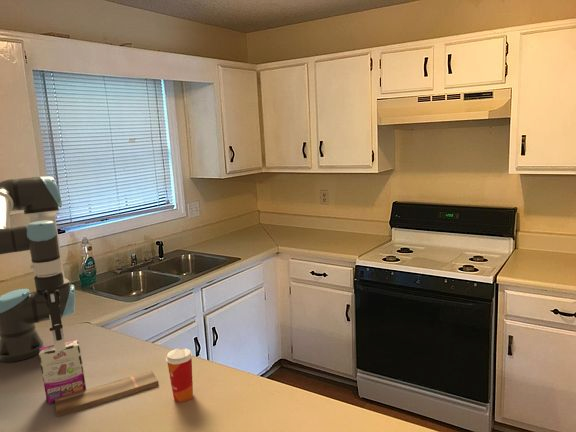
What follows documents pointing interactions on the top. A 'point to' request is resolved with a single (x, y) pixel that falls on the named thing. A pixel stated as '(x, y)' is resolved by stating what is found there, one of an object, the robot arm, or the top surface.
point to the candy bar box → (62, 370)
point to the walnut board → (105, 393)
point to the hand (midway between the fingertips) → (58, 341)
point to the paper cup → (180, 374)
